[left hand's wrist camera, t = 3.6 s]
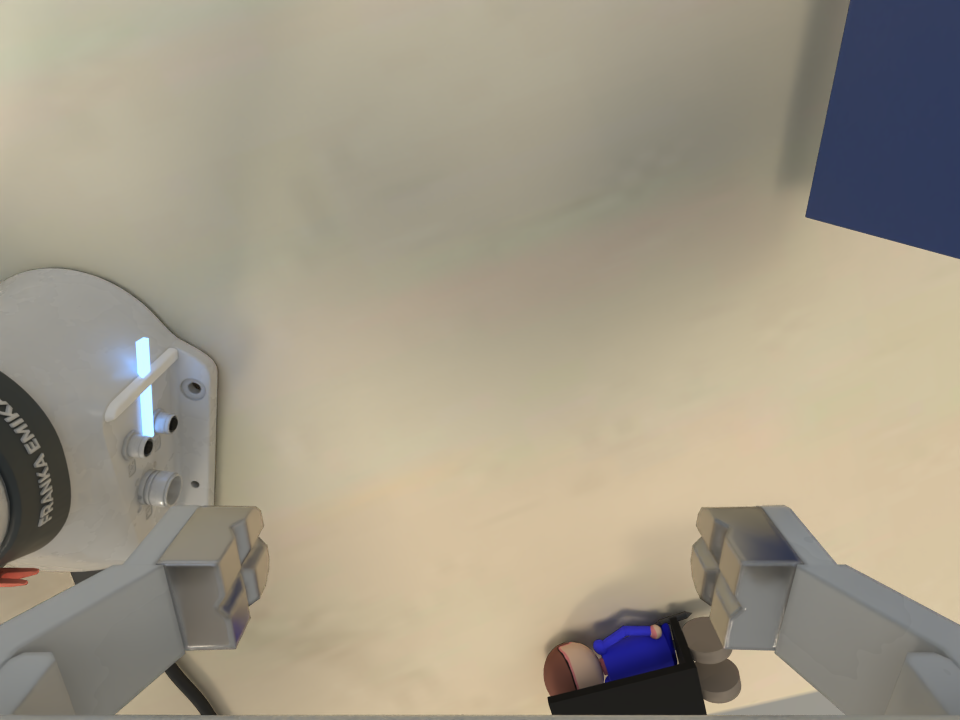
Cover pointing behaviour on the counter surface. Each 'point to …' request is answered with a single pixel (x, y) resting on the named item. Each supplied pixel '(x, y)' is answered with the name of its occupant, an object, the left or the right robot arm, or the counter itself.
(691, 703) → the figurine character
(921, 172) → the box
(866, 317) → the counter surface
